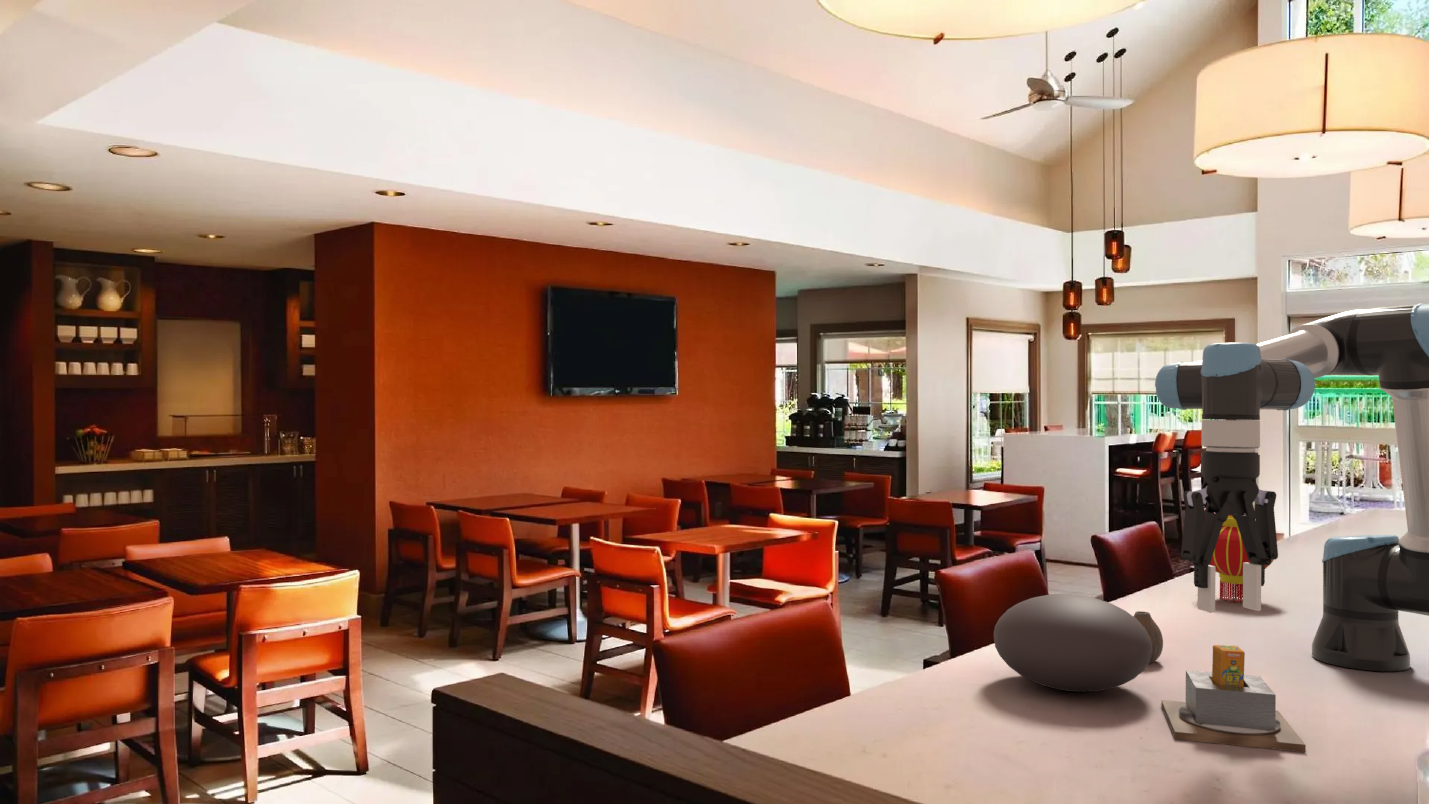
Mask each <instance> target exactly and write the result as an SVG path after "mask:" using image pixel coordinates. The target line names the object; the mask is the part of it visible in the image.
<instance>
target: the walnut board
mask: <svg viewBox="0 0 1429 804" xmlns="http://www.w3.org/2000/svg"><path fill="white" fill-rule="evenodd" d="M1160 702H1161V704H1160V705H1161V709H1162V712H1163V714H1164V716H1165V718H1166V721H1167V723H1168V726H1169V728H1170V730H1171V731H1170V732H1171V734H1172V735H1173V738H1174V740H1184V741H1192V742H1199V743H1202V742H1203V743H1212V744H1222V745H1230V746H1231V745H1233V746H1240V747H1248V748H1249V747H1250V748H1259V749H1260V748H1261V749H1270V750H1281V751H1290V752H1299V753H1306V750H1307V749H1306V745H1307V744H1306V743H1305V742H1304V741H1303V739H1302V738H1301V737H1300V736H1299V735H1298V733H1297V732H1296V731H1295V729H1294V728H1293V727H1292V726H1291V725H1290V724H1289V722H1288V721H1287V720H1286V718H1285V717H1284V716H1283V714H1282V713H1281V712H1280V711H1279V710H1276V714H1275V718H1276V719H1277V720H1278V721H1279V722H1280V730H1279V731H1278V732H1276V733H1274V734H1269V735H1259V736H1248V735H1235V734H1227V733H1221V732H1216V731H1211V730H1207V729H1203V728H1200V727H1197V726H1194V725H1191V724H1189V723H1187V722H1185V721H1184V720H1182V719H1181V718H1180V717H1179V709H1180V708H1181V707H1182V706H1185V705H1186V701H1176V700H1165V699H1161V701H1160Z"/></svg>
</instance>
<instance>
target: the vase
mask: <svg viewBox="0 0 1429 804" xmlns="http://www.w3.org/2000/svg"><path fill="white" fill-rule="evenodd" d="M1132 616H1133V617H1135V618H1136V619H1137V620H1138V621H1139V622H1140V623H1141V625H1142V626H1143V627H1144V628H1145V629H1146V631H1147V633H1148V635H1149V637H1150V638H1151V643H1152V654H1151V659H1150V662H1149V663H1148V664H1152V663H1155V662H1156V661H1157V660H1158V659H1159V658H1160V656H1161V654H1162V652H1163V648H1164V638H1163V634H1162V631H1161V629H1160V627H1159V626H1158V625H1157V623H1156V622H1155V620H1154V619H1153V617H1152V615H1151V613H1150V612H1148V611H1144V610H1143V611H1142V610H1141V611H1140V610H1139V611H1138V610H1137V611H1135V613H1134V614H1133V615H1132Z"/></svg>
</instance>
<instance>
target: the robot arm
mask: <svg viewBox="0 0 1429 804" xmlns="http://www.w3.org/2000/svg"><path fill="white" fill-rule="evenodd" d="M1324 376H1378V379H1379V381H1378V382H1379V388H1380V390H1382V391H1383V392H1385V393H1386V394H1387V395H1389V396H1390V398H1391V399H1392V407H1393V408H1392V409H1393V417H1394V423H1395V424H1394V426H1395V433H1396V441H1397V442H1396V444H1397V451H1398V458H1399V460H1398V461H1399V468H1400V474H1401V475H1400V476H1401V483H1402V491H1403V493H1402V494H1403V499H1404V500H1403V501H1404V509H1405V518H1406V527H1407V532H1405V533H1404V535H1402V536H1401V537H1400V538H1399V536H1397V535H1396V534H1395V535H1392V534H1391V535H1390V534H1368V535H1367V534H1365V535H1364V534H1363V535H1345V536H1344V535H1343V536H1342V535H1341V536H1332V537H1330V538H1328V539H1327V540H1326V541H1325V543H1324V545H1323V553H1322V554H1323V555H1322V560H1321V562H1322V584H1323V585H1322V604H1323V605H1322V608H1323V609H1322V617H1321V619H1320V622H1319V625H1318V628H1317V630H1316V633H1315V635H1314V637H1313V640H1312V643H1311V656H1312V657H1313V658H1314V659H1316V660H1318V661H1320V662H1323V663H1326V664H1330V665H1334V666H1338V667H1343V668H1349V669H1356V670H1364V671H1373V672H1374V671H1375V672H1401V671H1407V670H1409V669H1410V668H1411V655H1410V651H1409V649H1408V646H1407V645H1408V644H1407V643H1406V641H1405V637H1404V635H1403V632H1402V630H1401V627H1400V621H1399V612H1406V613H1412V614H1418V615H1421V616H1422V615H1423V616H1428V617H1429V303H1427V302H1424V303H1423V302H1422V303H1415V304H1414V303H1413V304H1403V305H1394V306H1392V305H1391V306H1384V307H1383V306H1382V307H1373V308H1358V309H1352V310H1348V311H1343V312H1339V313H1337V314H1333V315H1329V316H1326V317H1323V318H1319V319H1317V320H1314V321H1311V322H1308V323H1303V324H1300V325H1298V326H1296V327H1294V328H1293V329H1292V330H1290V331H1289V333H1287V335H1283V336H1280V337H1277V338H1273V339H1270V340H1266V341H1262V342H1259V343H1253V342H1218V343H1217V342H1216V343H1211V344H1208V345H1206V346H1205V347H1204V348H1203V351H1202V359H1198V360H1196V361H1190V362H1189V361H1188V362H1184V361H1178V362H1176V363H1174V362H1173V363H1167V364H1165V365H1163V366H1162V367H1161V368H1160V369H1159V370H1158V372H1157V374H1156V376H1155V382H1154V387H1155V394H1156V396H1157V399H1158V401H1159V403H1160V404H1162V405H1163V406H1164V407H1166V408H1168V409H1178V410H1179V409H1180V410H1182V411H1186V410H1202V414H1201V446H1202V447H1203V448H1205V450H1204V451H1202V452H1201V455H1200V457H1201V459H1200V462H1201V463H1200V473H1201V475H1202V477H1203V483H1202V485H1201V489H1197V490H1193V491H1192V490H1185V491H1184V492H1183V500H1184V505H1185V510H1184V511H1185V512H1184V519H1183V520H1184V521H1183V531H1182V540H1181V541H1182V542H1181V550H1180V551H1181V552H1180V557H1181V559H1182V560H1185V561H1188V562H1189V563H1191V564H1193V584H1194V587H1196V588H1197V610H1201V611H1203V612H1207V613H1210V614H1211V613H1216V572H1215V566H1211V565H1210V562H1211V559H1212V556H1213V553H1214V550H1215V547H1216V544H1217V541H1218V538H1219V535H1220V531H1221V528H1222V525H1223V523H1224V522H1225V521H1226V520H1227V518H1228V516H1233V518H1234V519H1235V520H1236V522H1237V525H1238V528H1239V531H1240V534H1241V538H1242V541H1243V544H1244V547H1245V550H1246V554H1247V557H1248V560H1249V561H1250V563H1248V562H1245V563H1243V599H1242V607H1243V608H1245V609H1249V610H1253V611H1255V612H1257V611H1258V612H1261V610H1262V587H1264V585H1265V583H1266V582H1265V577H1266V576H1265V575H1266V574H1265V571H1266V569H1265V565H1269V566H1271V565H1272V563H1271V560H1272V559H1273V561H1275V560H1277V559H1278V558H1279V550H1278V549H1279V548H1278V538H1277V528H1276V519H1275V518H1276V517H1275V505H1276V499H1277V493H1276V492H1275V491H1272V490H1263V489H1260V487H1259V486H1258V484H1257V478H1259V477H1260V475H1261V471H1260V469H1261V467H1260V466H1261V455H1260V454H1259V452H1256V449H1259V448H1261V416H1260V415H1261V410H1276V411H1285V412H1286V411H1289V410H1294V409H1299V408H1301V407H1303V406H1305V405H1307V403H1309V401H1310V400H1311V398H1312V397H1313V396H1314V392H1315V388H1316V381H1315V379H1318V378H1321V377H1324ZM1253 503H1254V504H1253Z"/></svg>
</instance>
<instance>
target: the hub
mask: <svg viewBox="0 0 1429 804" xmlns="http://www.w3.org/2000/svg"><path fill="white" fill-rule="evenodd" d="M1276 697H1277V696H1276V693H1275V692H1274V691H1273V690H1272V689H1271V687H1270V686H1269V685H1268V683H1266V681H1265V680H1264V679H1263V678H1262V677H1261V676H1260V675H1249V674H1244V687H1237V686H1225V685H1214V684H1213V683H1212V671H1202V670H1201V671H1200V670H1199V671H1198V670H1189V669H1188V670H1185V702H1186V705H1185V706H1182V707H1181V708H1180V709H1179V717H1180V718H1181V719H1182V720H1184V721H1185V722H1187V723H1189V724H1191V725H1194V726H1197V727H1200V728H1203V729H1207V730H1211V731H1216V732H1221V733H1227V734H1235V735H1248V736H1259V735H1269V734H1274V733H1276V732H1278V731H1279V730H1280V722H1279V721H1278V720H1277V719H1276V718H1275V714H1276V711H1277V710H1276V709H1277V708H1276V706H1277V705H1276V702H1277V701H1276V699H1277V698H1276Z"/></svg>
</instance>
